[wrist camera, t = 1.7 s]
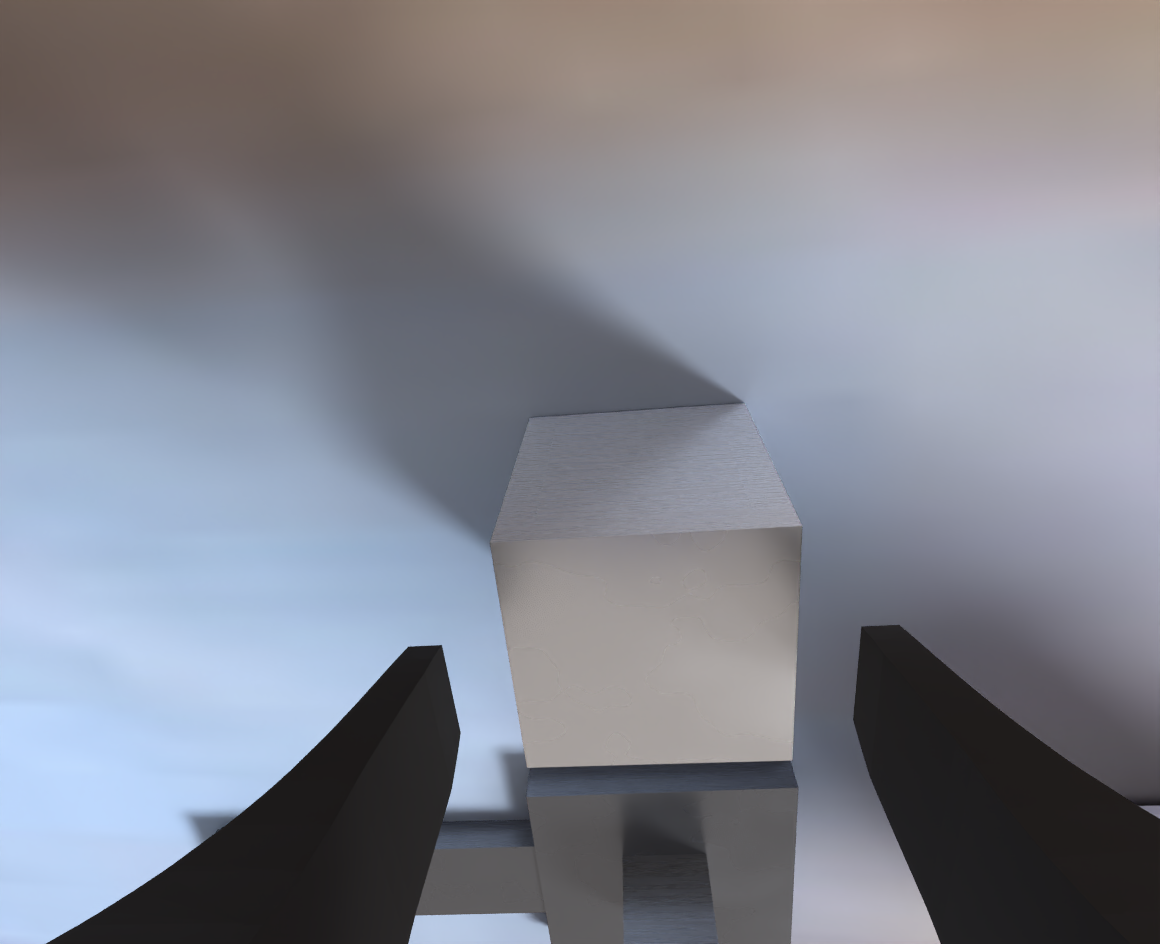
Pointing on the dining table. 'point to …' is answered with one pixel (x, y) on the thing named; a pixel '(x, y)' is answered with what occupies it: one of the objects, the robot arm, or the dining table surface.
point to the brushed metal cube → (649, 589)
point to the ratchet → (633, 855)
